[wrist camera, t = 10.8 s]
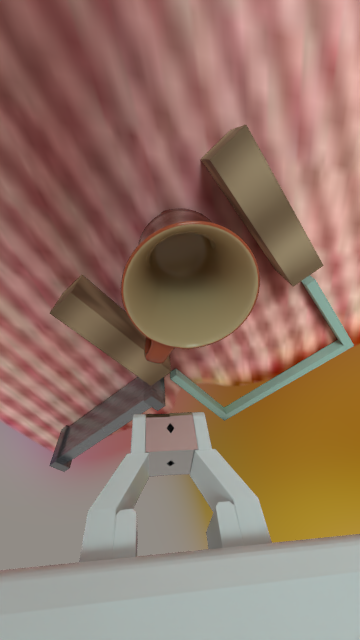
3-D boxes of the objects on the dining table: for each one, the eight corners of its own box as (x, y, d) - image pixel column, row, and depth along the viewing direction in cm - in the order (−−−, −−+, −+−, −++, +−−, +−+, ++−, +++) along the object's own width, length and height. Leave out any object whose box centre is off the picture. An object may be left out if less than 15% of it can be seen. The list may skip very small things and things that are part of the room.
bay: (170, 372, 33) (170, 379, 32) (309, 275, 28) (315, 279, 27) (222, 413, 39) (224, 420, 38) (348, 339, 33) (354, 345, 32)
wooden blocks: (62, 293, 26) (49, 313, 23) (230, 129, 20) (246, 124, 17) (151, 361, 32) (150, 385, 29) (301, 251, 26) (323, 265, 23)
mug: (150, 179, 22) (148, 193, 13) (239, 220, 24) (287, 255, 15) (112, 298, 27) (93, 364, 19) (187, 322, 30) (201, 390, 21)
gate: (61, 429, 37) (49, 465, 33) (151, 363, 32) (151, 396, 28) (74, 435, 38) (63, 471, 34) (163, 372, 33) (165, 405, 29)
